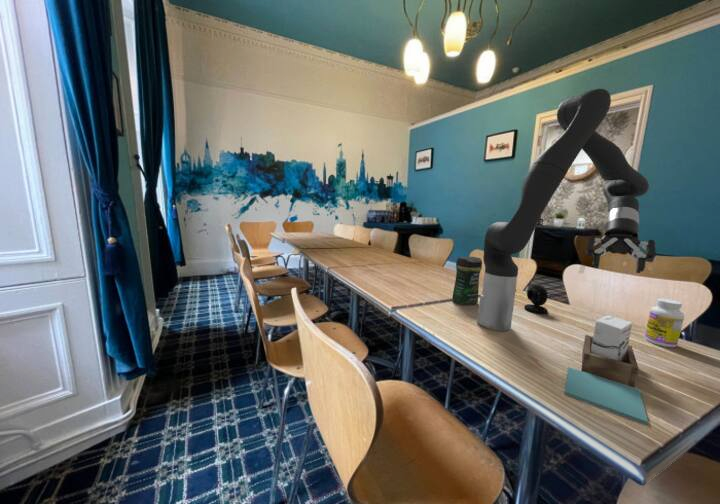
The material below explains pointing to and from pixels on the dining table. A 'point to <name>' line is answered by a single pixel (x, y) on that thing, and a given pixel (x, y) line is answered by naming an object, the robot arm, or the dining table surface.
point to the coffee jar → (467, 280)
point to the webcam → (537, 299)
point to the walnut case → (610, 365)
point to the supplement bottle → (665, 323)
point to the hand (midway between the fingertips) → (617, 268)
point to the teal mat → (606, 394)
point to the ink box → (611, 338)
